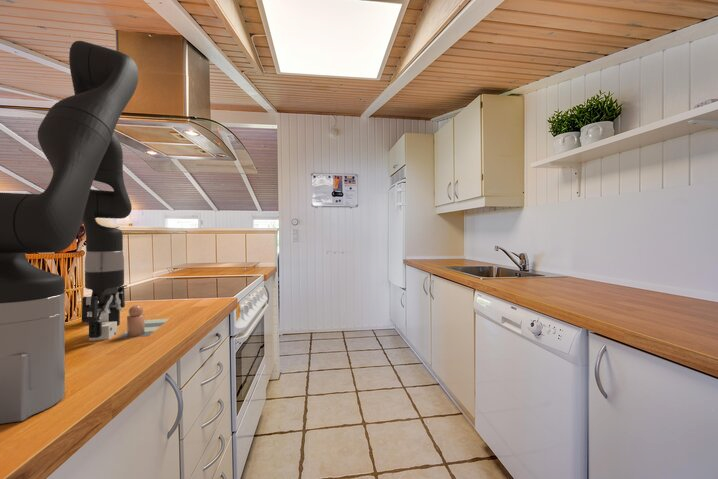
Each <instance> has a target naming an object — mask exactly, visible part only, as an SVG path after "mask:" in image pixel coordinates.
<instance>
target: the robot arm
mask: <svg viewBox="0 0 718 479" xmlns="http://www.w3.org/2000/svg"><path fill="white" fill-rule="evenodd" d="M68 53H69V55H68V56H69V61H68V63H69V70H70V77H71V82H72V87H73V93H74V94H73V95H70V96H67V97H65V98H63V99H60V100H59V101H57V102H56V103H54V105H53V106H51V107H50V108H49V110H48V112H47V113H46V115H45V116H44V118H43V119H42V122H41V123H40V125H39V127H38V129H37V141H38V143H39V146H40V149H41V150H42V152H43V154H44V156H45V158H46V160H47V161H48V162H49V164H50V166H51V169H52V176H51V180H50V182H49V184H48V185H47V187H46V189H45V190H44V191H42V192H41V193H39V194H38V193H22V192H21V193H20V192H19V193H17V192H15V193H14V192H0V425H1V424H8V423H15V422H22V421H24V420H26V419H28V418H29V417H31V416H33V415H35V414H38V413H41V412H43V411H45V410H47V409H49V408H51V407H53V406H54V405H56V404H58V403H59V402H60V401H61V400H63V398H64V397H65V394H66V392H65V391H66V378H65V377H66V370H65V368H66V366H65V365H66V364H65V363H66V359H65V358H66V356H65V352H66V350H65V349H66V346H65V340H66V339H65V338H66V336H65V335H66V334H65V330H66V329H65V327H66V326H65V324H66V323H65V322H66V321H65V320H66V319H65V316H66V314H65V313H66V312H65V310H66V304H65V303H66V302H65V301H66V297H65V296H66V295H65V294H66V293H65V292H66V290H65V289H66V284H65V282H66V281H65V279H64V277H63V276H62V275H59V274H58V273H57V274H56V273H52V272H50V271H46V270H44V269H40V268H38V267H37V266H35V265H33V264H32V263H31V262H30V261H28V259H27V255H26V254H48V253H50V254H52V253H57V252H59V253H60V252H63V251H64V250H67V249H68V248H69V247H70V246H72V244H74V242H75V240H76V238H77V237H78V234H79V232H80V229H81V226H82V224H83V227H84V232H85V256H84V288H85V289H87V290H91V291H92V292H91V295H90V296H83V297H82V298H81V323H88V338H89V337H90V338H98V337H100V336H101V335H102V321H101V320H102V317H103V315H104V314H105V313H106V312H107V310H108V311H109V312H111V313H109V322H116V321H117V327H119V325H120V324H121V323H120V322H121V320H120V319H121V316H120V315H121V313H120V312H122V308H123V309H124V308H125V306H126V300H125V286H124V285H125V257H124V244H123V243H124V240H123V239H124V237H123V236H124V235H123V231H122V230H121V229H120V228H116V227H110V226H105V225H101V224H100V223H98V221H97V219H119V220H121V219H126V218H127V217H129V216H130V214H131V213H132V208H133V207H132V202H131V200H130V197H129V194H128V191H127V188H126V184H125V181H124V171H123V170H124V163H123V161H124V160H123V158H124V154H123V152H124V151H123V147H122V145H121V142H120V140H119V138H118V137H117V135H116V133H115V129H116V127H117V124H118V122H119V120H120V117H121V116H122V113H123V112H124V111H125V109H126V107H127V105H128V104H129V102H130V101H131V99H132V97H133V96H134V95H135V92H136V89H137V87H138V83H139V69H138V66H137V63H136V62H135V61H134V59H133V58H132V57H131V56H130V55H128V54H125V53H123V52H121V51H118V50H116V49H115V50H114V49H112V48H108V47H106V46H102V45H99V44H98V45H97V44H94V43H91V42H88V41H83V40H76V41H74V42H73V43H72V44H71V45H70V48H69V52H68ZM94 181H95V182H99V183H102V184H106V185H109V186H110V187H111V189H112V190H103V189H102V190H100V189H92V185H93V184H94ZM87 312H89V315H88V317H87ZM97 314H98V317H97Z"/></svg>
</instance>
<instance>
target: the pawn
mask: <svg viewBox="0 0 718 479" xmlns="http://www.w3.org/2000/svg"><path fill="white" fill-rule="evenodd" d="M126 318H127V319H126V331H127V336H128V337H131V338H137V337H136V336H140V335H143V334H144V333H145V320H146V319H145V314H144V308H143V307H142V306H141V305H138V304H137V305H136V304H135V305H133V306H131V307H130V308H129V309H128V316H126Z"/></svg>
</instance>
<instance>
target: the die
mask: <svg viewBox="0 0 718 479" xmlns="http://www.w3.org/2000/svg"><path fill="white" fill-rule="evenodd" d="M117 334H118V326H117V321H116V322H102V335H101V336H100V337H98V338H90V337H89V336H88V338H89V339H88V341H89V342H90V341H101V340H102V341H104V340H110V339H112V338H113V337H115V336H116V335H117Z"/></svg>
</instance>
